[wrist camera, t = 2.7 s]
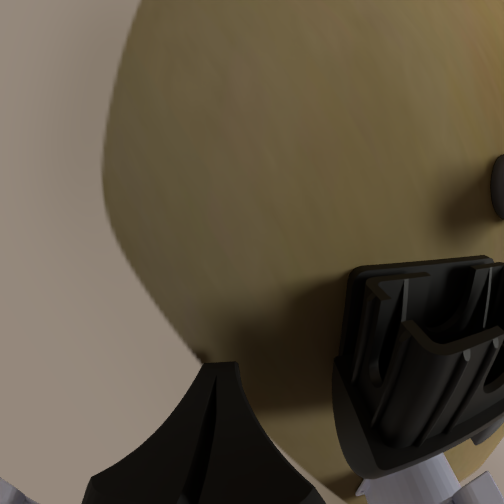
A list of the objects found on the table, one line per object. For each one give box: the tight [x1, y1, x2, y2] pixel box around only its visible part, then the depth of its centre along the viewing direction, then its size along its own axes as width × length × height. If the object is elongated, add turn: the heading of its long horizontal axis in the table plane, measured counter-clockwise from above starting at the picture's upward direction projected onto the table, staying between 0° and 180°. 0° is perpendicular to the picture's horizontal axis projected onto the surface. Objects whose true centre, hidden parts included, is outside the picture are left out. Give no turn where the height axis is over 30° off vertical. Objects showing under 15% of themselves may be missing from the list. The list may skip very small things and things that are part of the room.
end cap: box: [332, 255, 504, 479], centre depth 9 cm, size 10×7×7 cm
